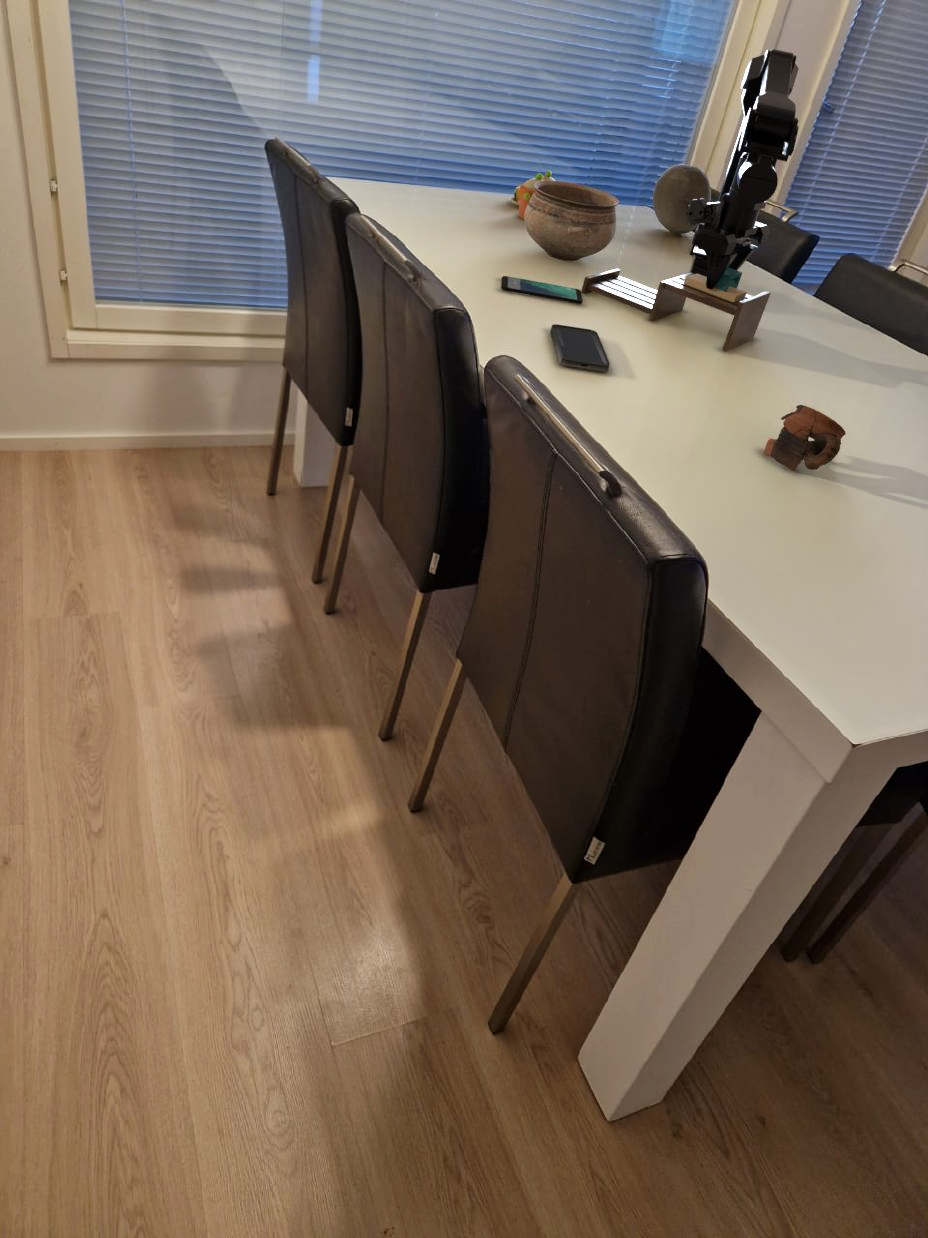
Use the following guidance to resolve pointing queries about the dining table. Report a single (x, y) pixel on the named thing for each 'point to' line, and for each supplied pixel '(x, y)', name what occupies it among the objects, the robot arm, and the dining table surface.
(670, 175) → the cantaloupe
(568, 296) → the smartphone
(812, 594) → the dining table surface
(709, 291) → the wall mail holder
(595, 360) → the phone
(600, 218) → the cooking pot
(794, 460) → the pottery mug
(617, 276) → the shoe rack
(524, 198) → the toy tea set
